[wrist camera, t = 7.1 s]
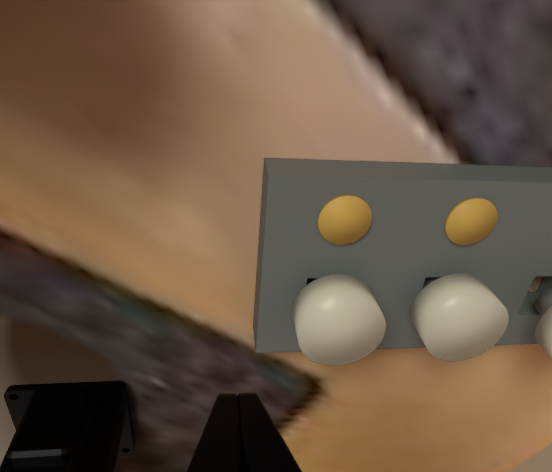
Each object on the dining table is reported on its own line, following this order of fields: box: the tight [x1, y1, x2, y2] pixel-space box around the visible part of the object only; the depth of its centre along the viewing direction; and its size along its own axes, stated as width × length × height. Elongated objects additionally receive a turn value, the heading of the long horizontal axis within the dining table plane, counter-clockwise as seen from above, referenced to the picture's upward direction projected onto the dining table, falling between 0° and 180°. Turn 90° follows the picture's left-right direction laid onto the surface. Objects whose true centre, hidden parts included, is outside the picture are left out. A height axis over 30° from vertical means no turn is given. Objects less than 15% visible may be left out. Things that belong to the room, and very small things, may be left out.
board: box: [253, 158, 552, 353], centre depth 22 cm, size 10×19×2 cm, turn 86°
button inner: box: [292, 274, 386, 366], centre depth 21 cm, size 4×4×4 cm
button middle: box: [410, 273, 509, 361], centre depth 21 cm, size 4×4×4 cm
